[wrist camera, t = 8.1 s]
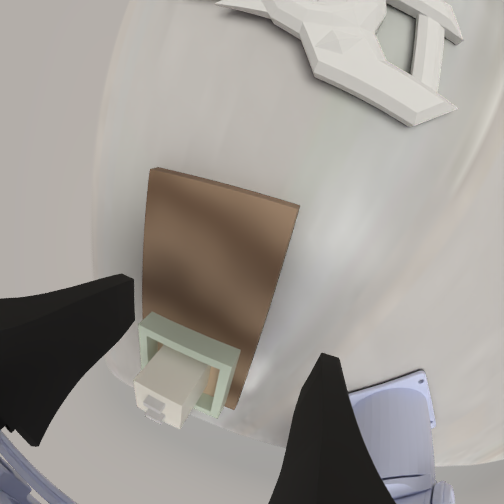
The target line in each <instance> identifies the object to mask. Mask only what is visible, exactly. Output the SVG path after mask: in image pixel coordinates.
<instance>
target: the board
mask: <svg viewBox="0 0 504 504" xmlns="http://www.w3.org/2000/svg"><path fill="white" fill-rule="evenodd" d="M299 207H300V205H297V204H293V203H290V202H287V201H284V200H280V199H277V198H274V197H270V196H267V195H263V194H260V193H256V192H253V191H249V190H246V189H242V188H239V187H235V186H231V185H228V184H224V183H220V182H216V181H212V180H209V179H205V178H201V177H197V176H193V175H189V174H185V173H180V172H176V171H172V170H168V169H163V168H159V167H158V168H153V169H150V173H149V182H148V191H147V202H146V214H145V228H144V246H143V278H142V308H143V319H144V318H146V317H147V316H148V315H149V314H150V313H151V312H154V313H156V314H158V315H160V316H163V317H165V318H167V319H169V320H171V321H173V322H175V323H178V324H180V325H182V326H184V327H187V328H189V329H191V330H193V331H196V332H198V333H200V334H203V335H205V336H207V337H210V338H212V339H215V340H217V341H220V342H222V343H225V344H227V345H230V346H232V347H235V348H237V349H240V350H241V351H240V355H239V358H238V362H237V365H236V369H235V372H234V376H233V379H232V383H231V386H230V390H229V393H228V397H227V400H226V403H225V407H228V408H230V409H233V410H234V409H235V407H236V405H237V403H238V400H239V397H240V395H241V392H242V389H243V386H244V383H245V380H246V377H247V374H248V372H249V369H250V366H251V363H252V360H253V357H254V354H255V351H256V348H257V345H258V342H259V339H260V336H261V333H262V329H263V326H264V323H265V320H266V317H267V314H268V311H269V308H270V305H271V301H272V298H273V295H274V292H275V289H276V285H277V282H278V279H279V276H280V272H281V269H282V266H283V262H284V259H285V256H286V252H287V249H288V246H289V242H290V239H291V235H292V232H293V229H294V225H295V222H296V218H297V215H298V211H299Z"/></svg>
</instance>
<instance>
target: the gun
mask: <svg viewBox="0 0 504 504" xmlns="http://www.w3.org/2000/svg"><path fill="white" fill-rule="evenodd" d="M386 3H387V4H389V5H391V6H393V7H395V8H397V9H399V10H401V11H403V12H405V13H407V14H408V15H410V16H412V17H414V18H416V30H415V41H414V50H413V58H412V65H411V72H410V74H408V73H407V72H405V71H404V70H402V69H400V68H398V67H397V66H395V65H393V64H391V63H390V62H388V61H387V60H386V57H385V55H384V53H383V50H382V48H381V46H380V43H379V41H378V39H377V37H376V35H375V33H376V31H377V30H378V28H379V27H380V25H381V24H382V22H383V20H384V18H385V16H386V14H387V13H386ZM215 4H216V5H217V6H221V7H226V8H231V9H235V10H239V11H243V12H247V13H251V14H255V15H258V16H262V17H265V18H268V19H271V20H272V21H273V23H274V24H275V25H277V26H278V27H280V28H282V29H283V30H285V31H287V32H288V33H290V34H292V35H293V36H295V37H297V38H298V39H300V40H301V42H302V44H303V47H304V50H305V52H306V55H307V57H308V60H309V63H310V66H311V68H312V71H313V74H314V77H315V78H318V79H320V80H322V81H325V82H327V83H329V84H331V85H333V86H336V87H338V88H340V89H342V90H344V91H346V92H348V93H350V94H352V95H354V96H356V97H358V98H360V99H362V100H364V101H365V102H367V103H369V104H371V105H373V106H375V107H376V108H378V109H380V110H382V111H383V112H385V113H387V114H388V115H390V116H392V117H393V118H395V119H397V120H398V121H400V122H402V123H403V124H405V125H406V126H408V127H411V126H416V125H418V124H421V123H423V122H426V121H428V120H431V119H433V118H436V117H438V116H441V115H444V114H446V113H449V112H451V111H454V110H457V109H459V108H457V107H456V106H455V105H453V104H452V103H451V102H450V101H448V100H447V99H446V98H444V97H443V96H441V95H440V94H439V93H437V92H438V86H439V79H440V72H441V65H442V56H443V46H444V37H446V38H447V39H448V40H450V41H451V42H453V43H454V44H455V45H458V44H459V43H461V42H462V41H464V40H463V37H462V34H461V31H460V28H459V25H458V22H457V20H456V17H455V14H454V12H453V9H452V7H451V5H449V4H448V3H446V2H444V1H443V0H221V1H219V2H217V3H215Z"/></svg>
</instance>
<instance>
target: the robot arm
mask: <svg viewBox="0 0 504 504" xmlns="http://www.w3.org/2000/svg"><path fill="white" fill-rule="evenodd" d="M134 321H135V310H134V279H132V278H130V277H128V276H126V275H124V274H118V275H113V276H109V277H106V278H102V279H98V280H95V281H91V282H88V283H84V284H81V285H77V286H73V287H70V288H66V289H61V290H57V291H53V292H49V293H45V294H39V295H34V296H27V297H20V298H4V299H0V453H1V454H2V456H3V457H4V458H5V459H6V460H7V461H8V463H9V464H10V465H11V466H12V467H13V468H14V469H15V470H16V471H17V472H16V471H15V470H14V469H13V468H12V467H11V466H10V465H9V464H8V463H6V462H5V461H4V460H3V459H2V458H1V457H0V504H41V503H40V502H38V501H37V500H36V499H35V498H34V497H33V496H32V495H30V494H29V493H30V492H31V488H30V486H31V487H32V488H33V489H34V490H35V491H36V492H38V493H39V494H40V495H41V496H42V497H43V498H44V499H45V500H46V501H47V502H48V503H50V504H77V503H76V502H74V501H73V500H72V499H70V498H69V497H68V496H66V495H65V494H64V493H63V492H62V491H61V490H59V489H58V488H57V487H56V486H55V485H53V484H52V483H51V482H50V481H49V480H48V479H47V478H46V477H44V476H43V475H42V474H41V473H40V472H39V471H38V470H37V469H36V468H35V467H34V466H33V465H32V464H31V463H30V462H29V461H28V460H27V459H26V458H25V457H24V456H23V455H22V454H21V453H20V452H19V451H18V450H17V448H16V447H15V446H14V445H13V444H12V443H11V442H10V440H9V439H8V438H7V437H6V436H5V435H4V433H3V432H2V431H1V429H2V428H3V427H4V426H5V427H6V428H7V429H8V430H9V432H11V433H12V432H13V431H14V430H15V429H16V431H17V432H18V433H19V434H20V435H21V436H22V437H23V438H24V439H25V440H26V441H27V442H28V443H29V444H30V445H31V446H35V447H36V446H39V444H40V442H41V440H42V438H43V436H44V434H45V432H46V430H47V428H48V426H49V424H50V422H51V420H52V419H53V417H54V415H55V414H56V412H57V411H58V409H59V407H60V406H61V404H62V403H63V402H64V400H65V399H66V397H67V396H68V394H69V393H70V392H71V390H72V389H73V388H74V386H75V385H76V384H77V382H78V381H79V380H80V379H81V378H82V377H83V375H84V374H85V373H86V372H87V371H88V370H89V369H90V368H91V367H92V366H93V365H94V364H95V363H96V362H97V361H98V360H99V359H100V358H101V357H102V356H104V355H105V354H106V353H107V352H108V351H109V350H110V349H111V348H112V347H113V346H114V345H115V344H116V343H117V342H118V341H119V340H120V339H121V338H122V336H123V335H124V334H125V333H126V331H127V330H128V329H129V327H130V326H131V325H132V323H133V322H134ZM421 379H422V380H421ZM435 426H436V421H435V416H434V410H433V405H432V400H431V396H430V391H429V387H428V382H427V378H426V374H425V372H424V371H417V372H415V373H412V374H409V375H407V376H404V377H401V378H398V379H395V380H392V381H389V382H386V383H383V384H380V385H377V386H374V387H370V388H367V389H363V390H360V391H356V392H353V393H349V394H348V391H347V387H346V384H345V380H344V376H343V372H342V367H341V363H340V360H339V358H338V357H334V356H331V355H328V354H324V353H321V355H320V357H319V358H318V360H317V362H316V364H315V366H314V368H313V369H312V371H311V373H310V375H309V377H308V378H307V380H306V382H305V384H304V385H303V387H302V389H301V392H300V395H299V398H298V401H297V404H296V408H295V411H294V414H293V419H292V424H291V429H290V433H289V438H288V443H287V447H286V452H285V456H284V461H283V465H282V469H281V472H280V475H279V478H278V481H277V483H276V486H275V489H274V491H273V494H272V496H271V499H270V501H269V503H268V504H455V497H454V490H453V487H452V485H451V484H449V483H446V481H440V482H438V483H437V482H436V480H435V462H434V450H433V440H432V431H431V429H432V428H434V427H435ZM27 483H28V484H29V485H30V486H29V485H28V484H27Z"/></svg>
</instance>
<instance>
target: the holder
mask: <svg viewBox="0 0 504 504" xmlns="http://www.w3.org/2000/svg"><path fill="white" fill-rule="evenodd" d="M138 328H139V345H140V359H141V370H142V369H143V368H144V367H145V366H146V365H147V364H148V362H149V361H150V360H151V359H152V358H153V357H154V355H155V354H156V353H157V352H158V351H159V350H160V349H161V347H162V346H163V345H166V346H168V347H170V348H172V349H174V350H176V351H179V352H181V353H183V354H185V355H187V356H189V357H192V358H194V359H196V360H198V361H201V362H203V363H205V364H208V365H210V366H211V369H210V374H209V379H208V384H207V386H206V388H205V390H204V391H203V393H202V395H201V396H200V398H199V400H198V401H197V403H196V405H195V406H194V409H196V410H198V411H200V412H202V413H205V414H207V415H209V416H212V417H214V418H217V419H218V417H219V415H220V413H221V411H222V409H223V407H224V406H225V403H226V400H227V397H228V393H229V390H230V386H231V383H232V379H233V376H234V372H235V369H236V365H237V362H238V358H239V355H240V351H241V350H240V349H237V348H235V347H232V346H230V345H227V344H225V343H222V342H220V341H217V340H215V339H212V338H210V337H207V336H205V335H203V334H200V333H198V332H196V331H193V330H191V329H189V328H187V327H184V326H182V325H180V324H178V323H175V322H173V321H171V320H169V319H167V318H165V317H163V316H160V315H158V314H156V313H154V312H151V313H150V314H149V315H148V316H147V317H146V318H144V319H143V320H142V321H141V322H140V323H139V324H138Z"/></svg>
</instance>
